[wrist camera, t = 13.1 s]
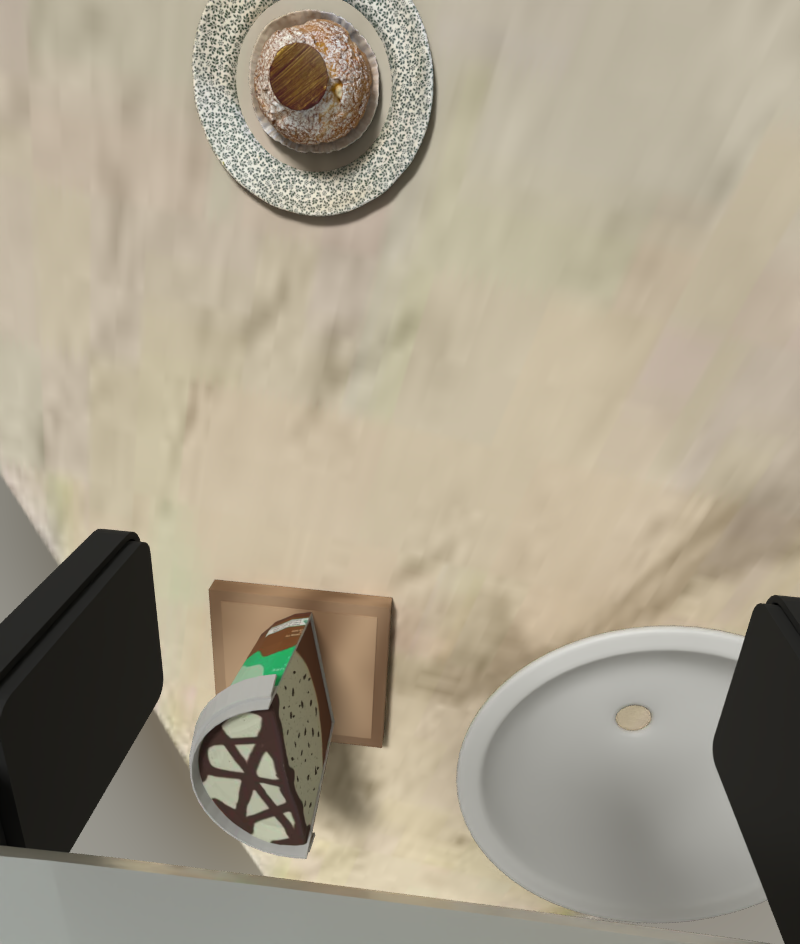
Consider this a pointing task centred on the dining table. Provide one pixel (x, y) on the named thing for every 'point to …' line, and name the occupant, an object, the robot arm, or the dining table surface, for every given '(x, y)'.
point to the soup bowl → (612, 778)
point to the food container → (268, 743)
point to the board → (339, 637)
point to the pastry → (313, 98)
